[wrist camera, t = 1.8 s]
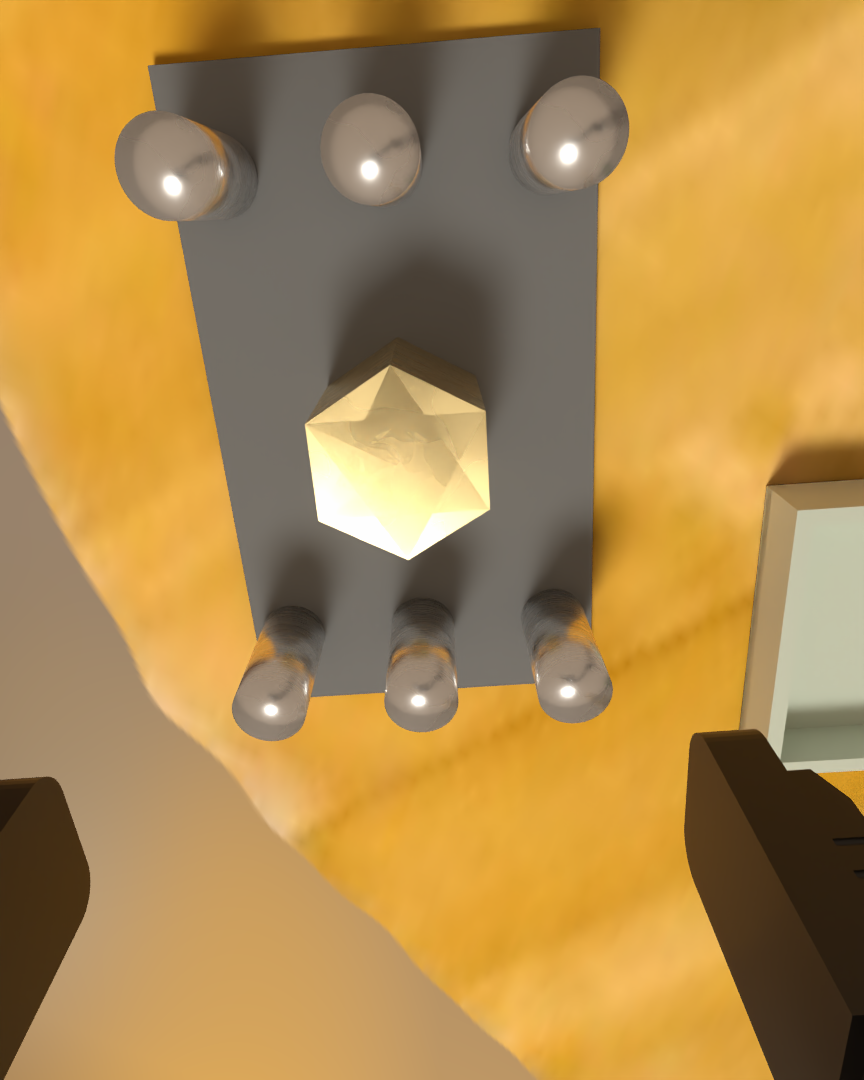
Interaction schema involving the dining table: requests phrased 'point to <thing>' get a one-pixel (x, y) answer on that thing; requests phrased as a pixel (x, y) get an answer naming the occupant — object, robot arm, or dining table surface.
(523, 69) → the mat
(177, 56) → the dining table surface
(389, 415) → the yellow faceted hexagonal block
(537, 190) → the standing spacers
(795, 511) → the sage parts tray
